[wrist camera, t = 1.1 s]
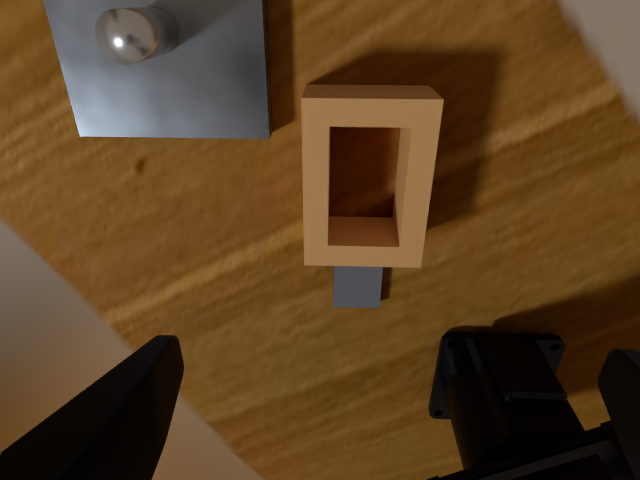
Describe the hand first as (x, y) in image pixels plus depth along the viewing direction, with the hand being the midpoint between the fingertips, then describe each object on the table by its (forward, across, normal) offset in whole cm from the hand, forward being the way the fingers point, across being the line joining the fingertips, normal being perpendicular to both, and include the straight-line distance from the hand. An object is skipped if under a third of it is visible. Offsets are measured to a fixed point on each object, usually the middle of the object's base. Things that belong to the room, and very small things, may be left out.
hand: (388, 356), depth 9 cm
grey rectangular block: (+12, 0, +5) cm, 13 cm away
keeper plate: (+12, +8, -6) cm, 15 cm away
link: (+12, 0, 0) cm, 12 cm away
